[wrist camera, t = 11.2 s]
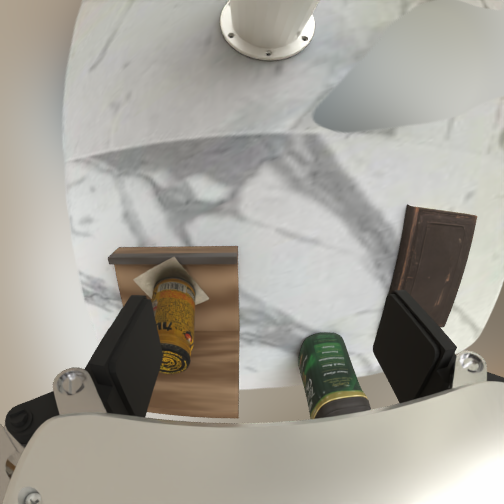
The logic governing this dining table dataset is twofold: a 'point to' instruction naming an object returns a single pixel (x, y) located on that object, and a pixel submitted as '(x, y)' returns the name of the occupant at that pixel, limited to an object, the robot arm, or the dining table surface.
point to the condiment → (173, 311)
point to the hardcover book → (433, 258)
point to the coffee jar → (330, 377)
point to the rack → (195, 329)
